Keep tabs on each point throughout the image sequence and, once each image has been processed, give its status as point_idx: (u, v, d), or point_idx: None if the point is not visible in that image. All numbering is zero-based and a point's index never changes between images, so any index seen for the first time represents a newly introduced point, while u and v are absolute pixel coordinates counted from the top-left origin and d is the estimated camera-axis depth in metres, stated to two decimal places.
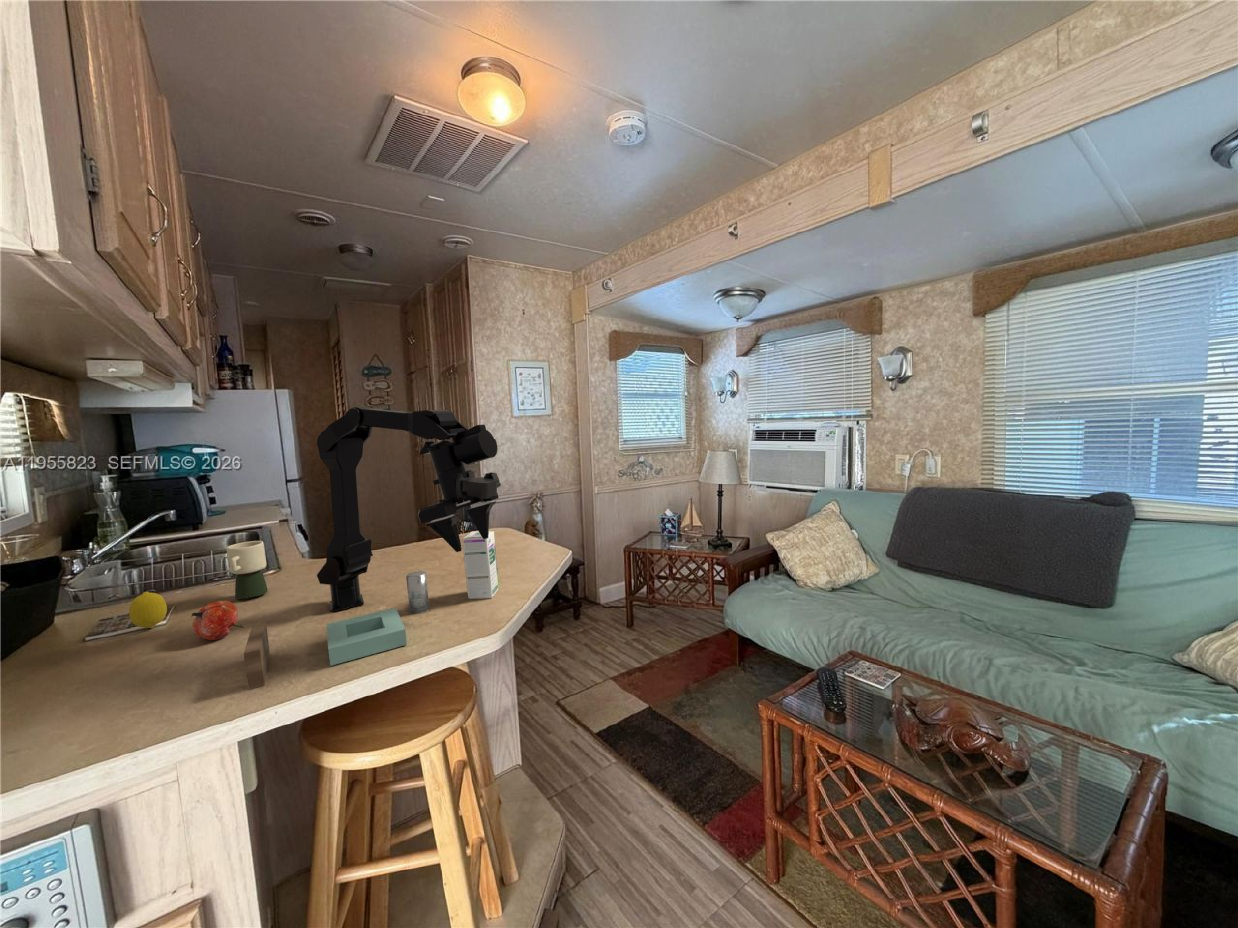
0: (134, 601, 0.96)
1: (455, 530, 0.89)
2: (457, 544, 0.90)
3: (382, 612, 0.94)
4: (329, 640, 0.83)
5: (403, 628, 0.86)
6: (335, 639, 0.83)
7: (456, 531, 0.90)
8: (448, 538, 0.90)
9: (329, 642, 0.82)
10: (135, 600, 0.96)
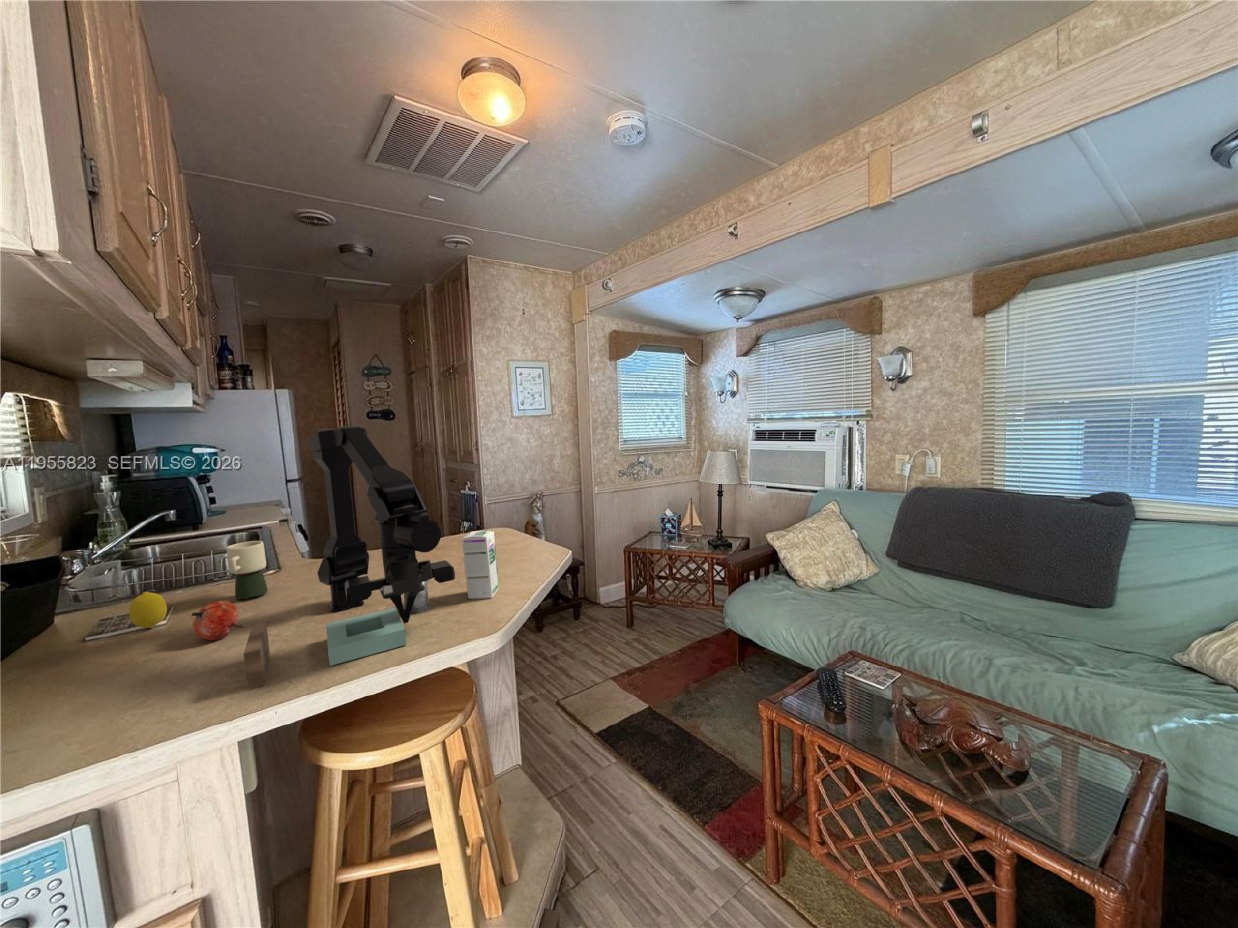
0: (134, 601, 0.96)
1: (398, 605, 0.90)
2: (401, 617, 0.91)
3: (382, 612, 0.94)
4: (329, 640, 0.83)
5: (403, 628, 0.86)
6: (335, 640, 0.83)
7: (400, 606, 0.90)
8: None
9: (329, 642, 0.82)
10: (135, 600, 0.96)
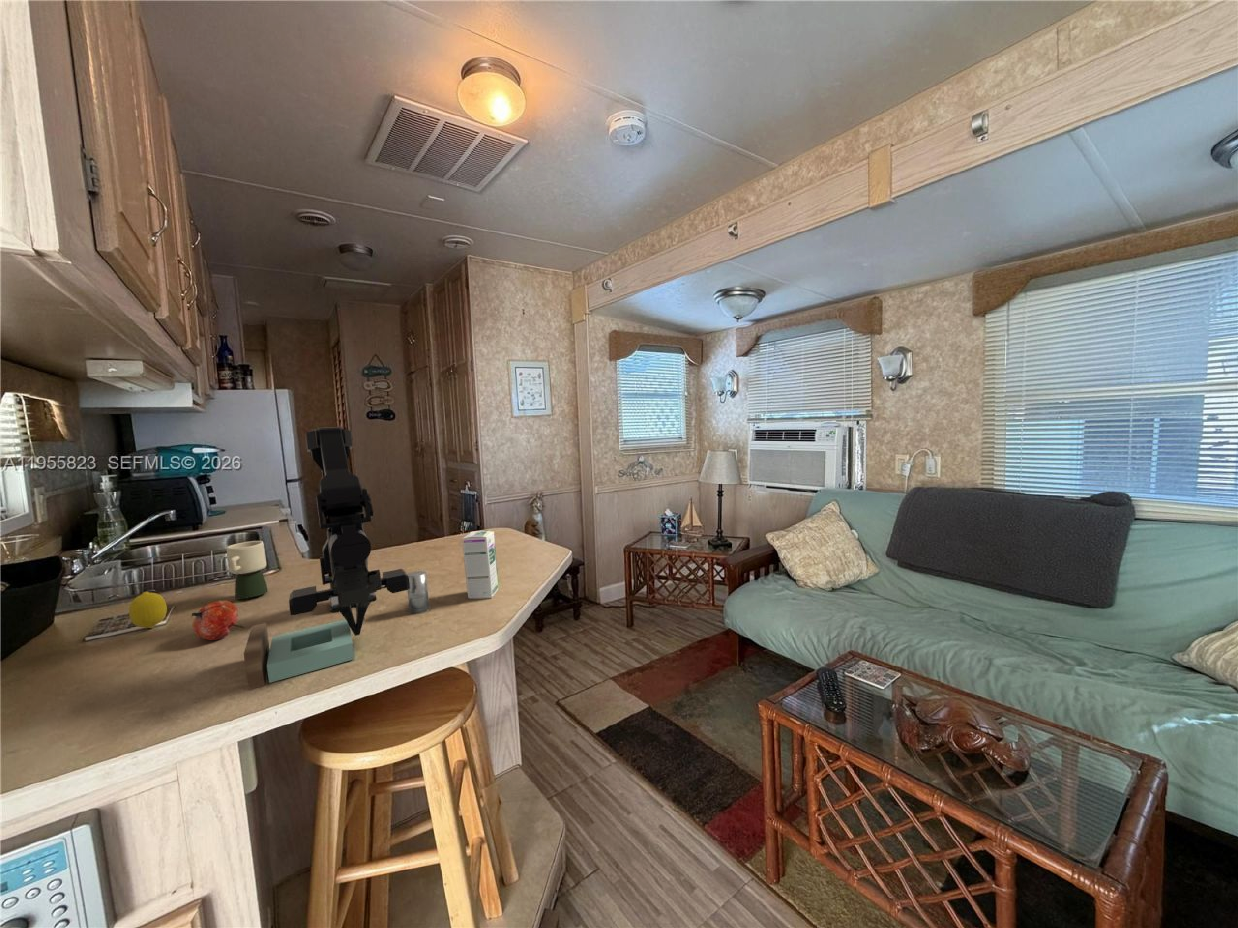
0: (134, 601, 0.96)
1: (348, 617, 0.85)
2: (351, 629, 0.86)
3: (333, 624, 0.89)
4: (270, 655, 0.78)
5: (351, 642, 0.82)
6: (277, 654, 0.78)
7: (350, 617, 0.85)
8: None
9: (269, 657, 0.77)
10: (135, 600, 0.96)
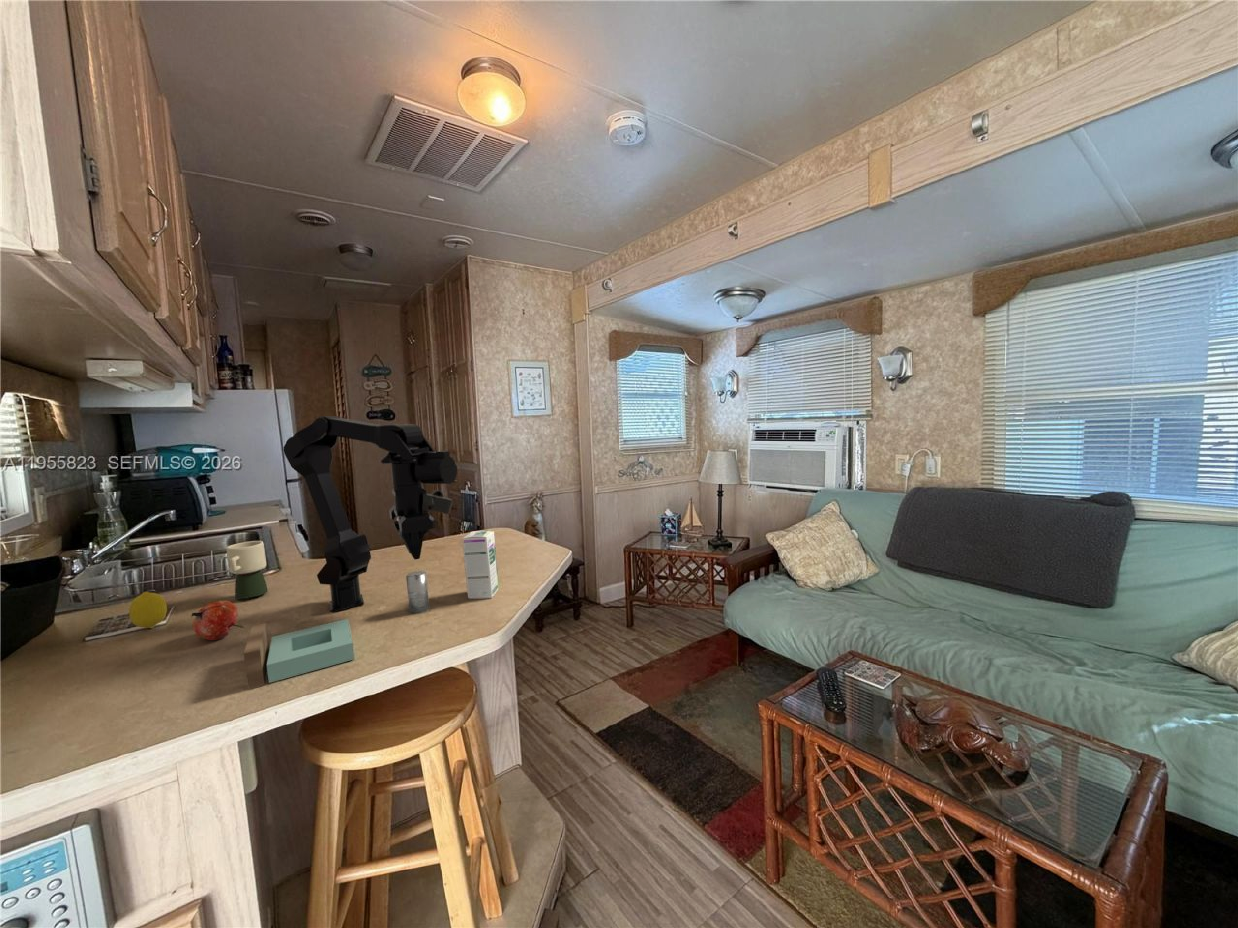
0: (134, 601, 0.96)
1: (422, 539, 0.98)
2: (419, 552, 0.98)
3: (333, 624, 0.89)
4: (270, 655, 0.78)
5: (350, 642, 0.82)
6: (276, 654, 0.78)
7: None
8: (413, 546, 0.97)
9: (269, 657, 0.77)
10: (135, 600, 0.96)
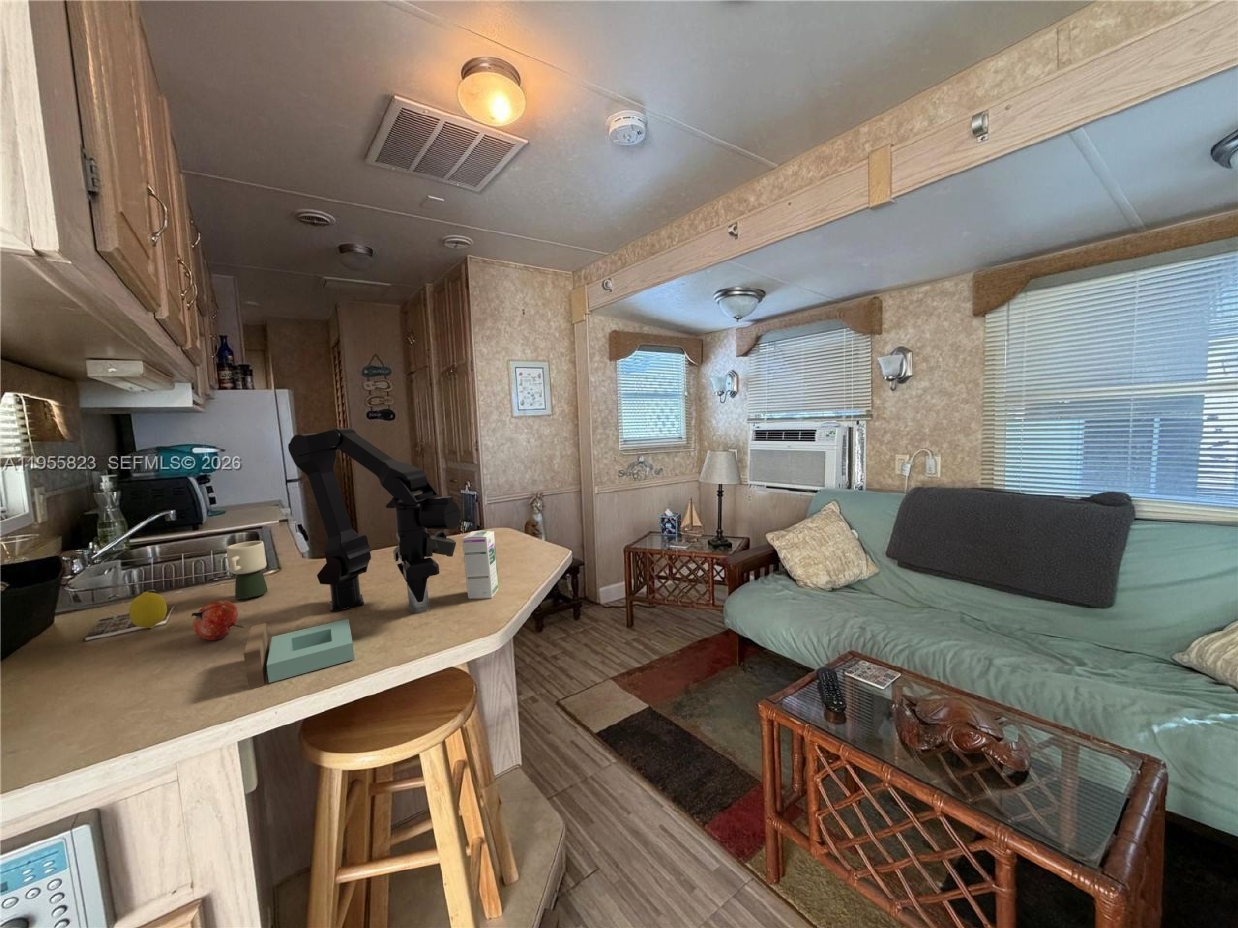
0: (134, 601, 0.96)
1: None
2: (423, 595, 1.00)
3: (333, 624, 0.89)
4: (270, 655, 0.78)
5: (350, 642, 0.82)
6: (276, 654, 0.78)
7: None
8: (417, 590, 0.99)
9: (269, 657, 0.77)
10: (135, 600, 0.96)
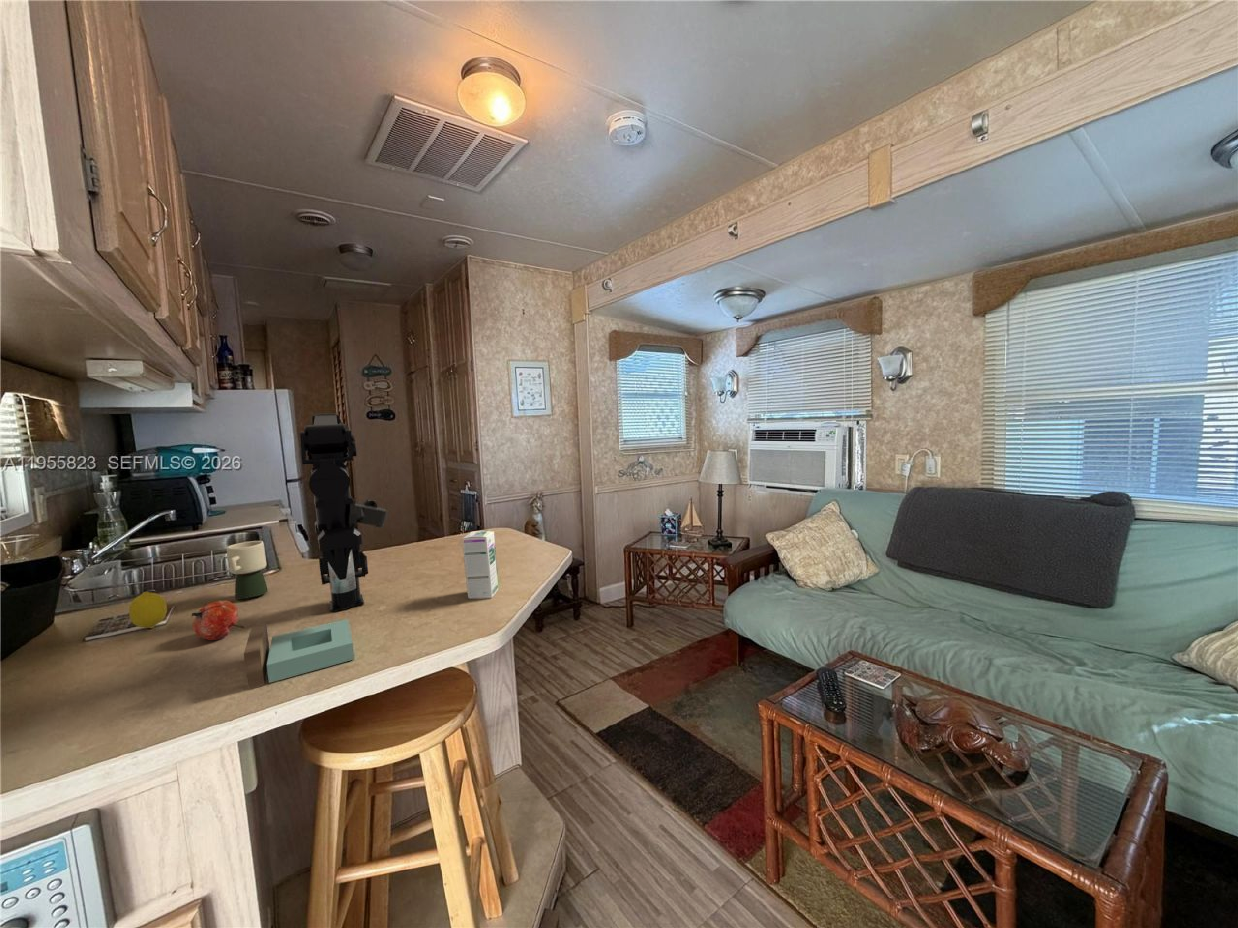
0: (134, 601, 0.96)
1: None
2: (345, 571, 0.85)
3: (333, 624, 0.89)
4: (270, 655, 0.78)
5: (350, 642, 0.82)
6: (276, 654, 0.78)
7: (348, 557, 0.86)
8: (337, 565, 0.84)
9: (269, 657, 0.77)
10: (135, 600, 0.96)
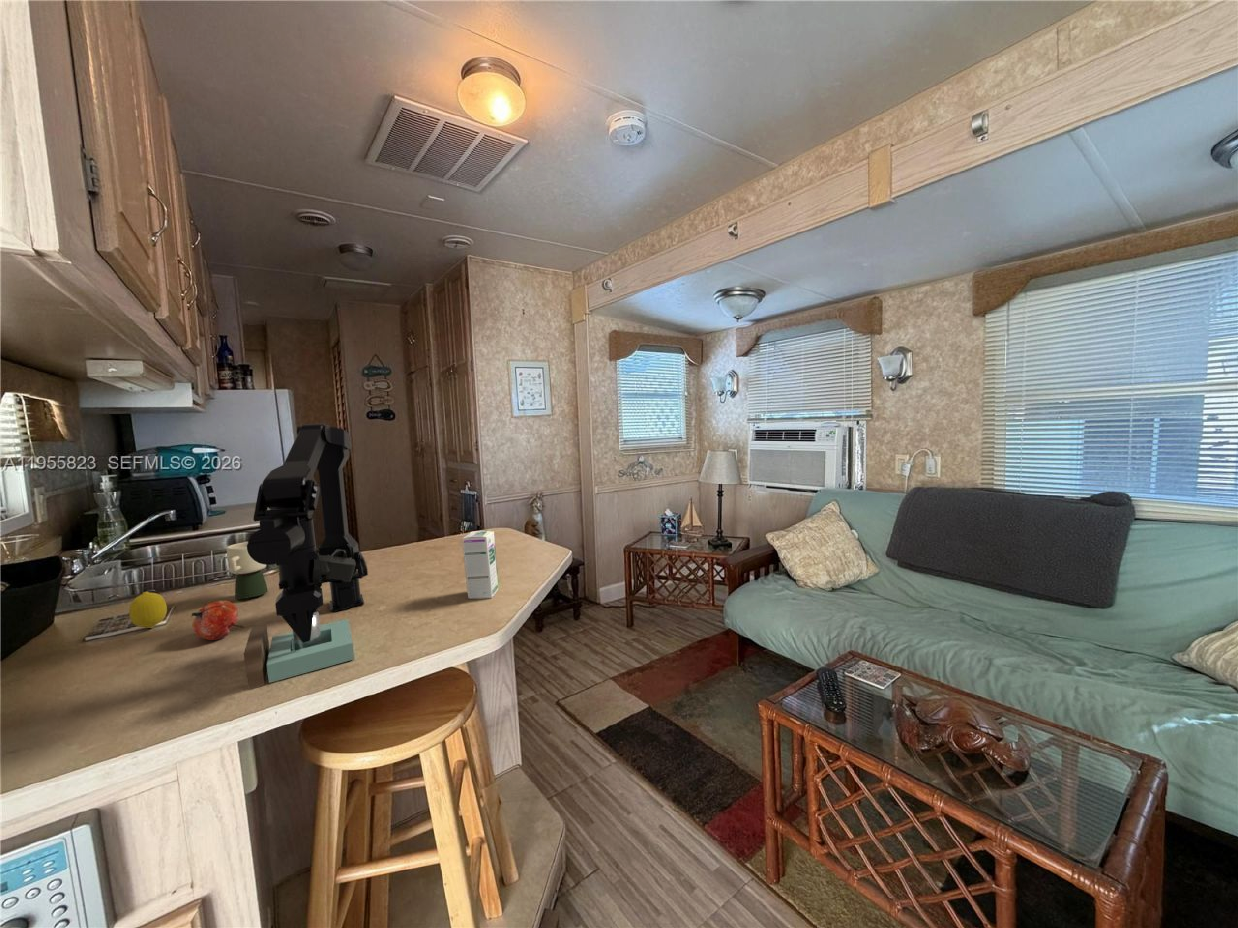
0: (134, 601, 0.96)
1: (312, 617, 0.79)
2: (309, 633, 0.79)
3: (333, 624, 0.89)
4: (270, 655, 0.78)
5: (350, 642, 0.82)
6: (276, 654, 0.78)
7: (312, 618, 0.80)
8: (299, 627, 0.78)
9: (269, 657, 0.77)
10: (135, 600, 0.96)
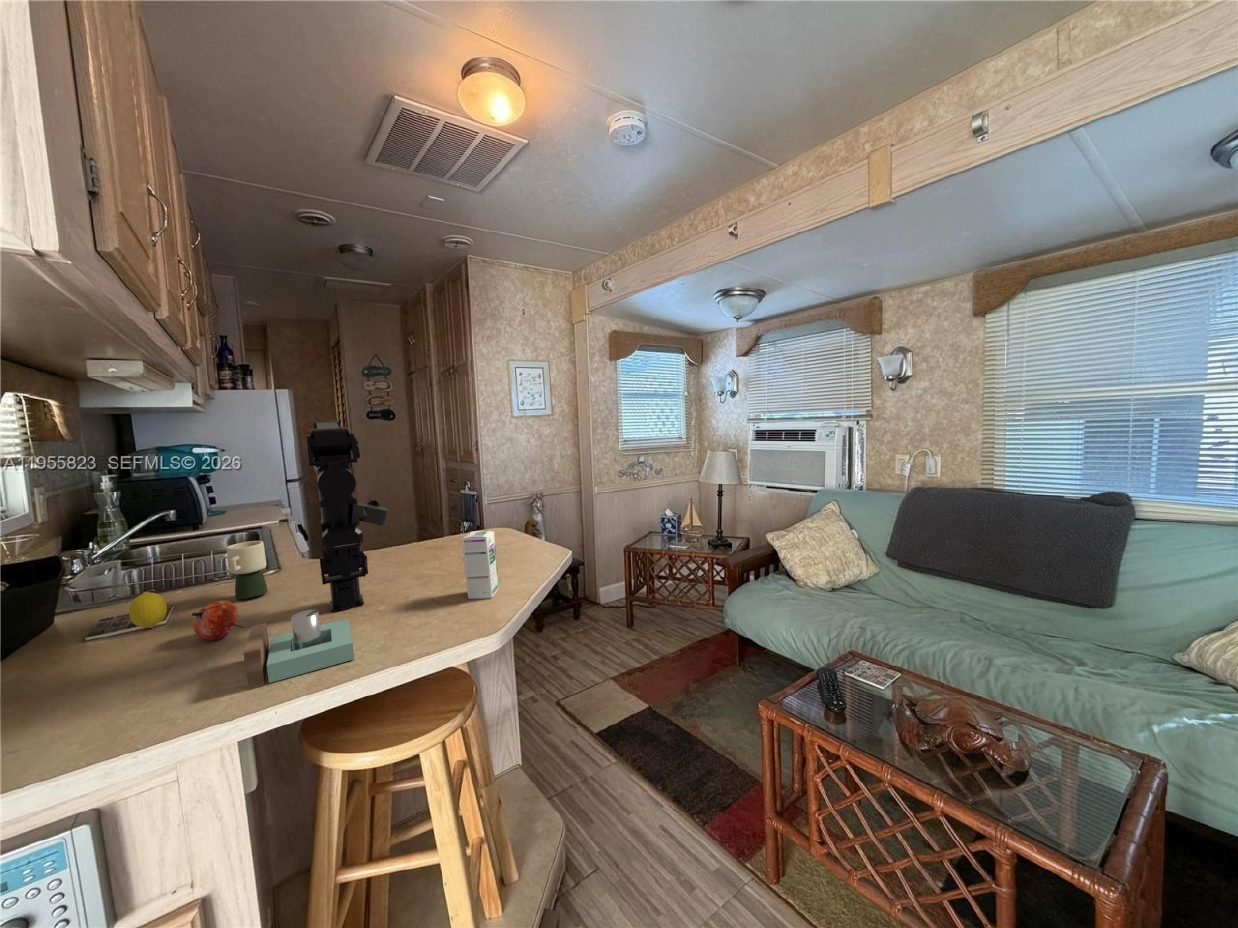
0: (134, 601, 0.96)
1: (352, 556, 0.88)
2: (349, 570, 0.88)
3: (333, 624, 0.89)
4: (270, 655, 0.78)
5: (350, 642, 0.82)
6: (276, 654, 0.78)
7: None
8: (341, 564, 0.87)
9: (269, 657, 0.77)
10: (135, 600, 0.96)
